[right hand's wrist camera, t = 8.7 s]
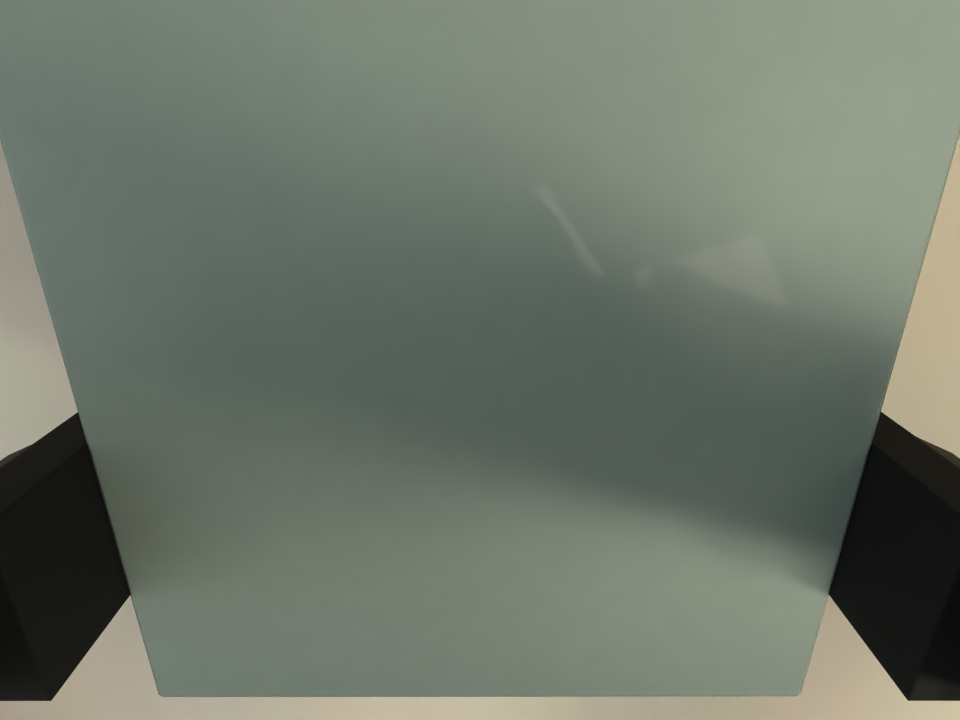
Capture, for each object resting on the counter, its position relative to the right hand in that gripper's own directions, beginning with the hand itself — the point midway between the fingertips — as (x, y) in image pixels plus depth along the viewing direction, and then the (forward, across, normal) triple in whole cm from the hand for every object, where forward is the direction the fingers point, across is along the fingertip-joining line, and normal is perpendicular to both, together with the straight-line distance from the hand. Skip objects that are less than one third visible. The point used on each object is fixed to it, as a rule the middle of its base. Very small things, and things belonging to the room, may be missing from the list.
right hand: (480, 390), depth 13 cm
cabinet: (+5, 0, -6) cm, 8 cm away
